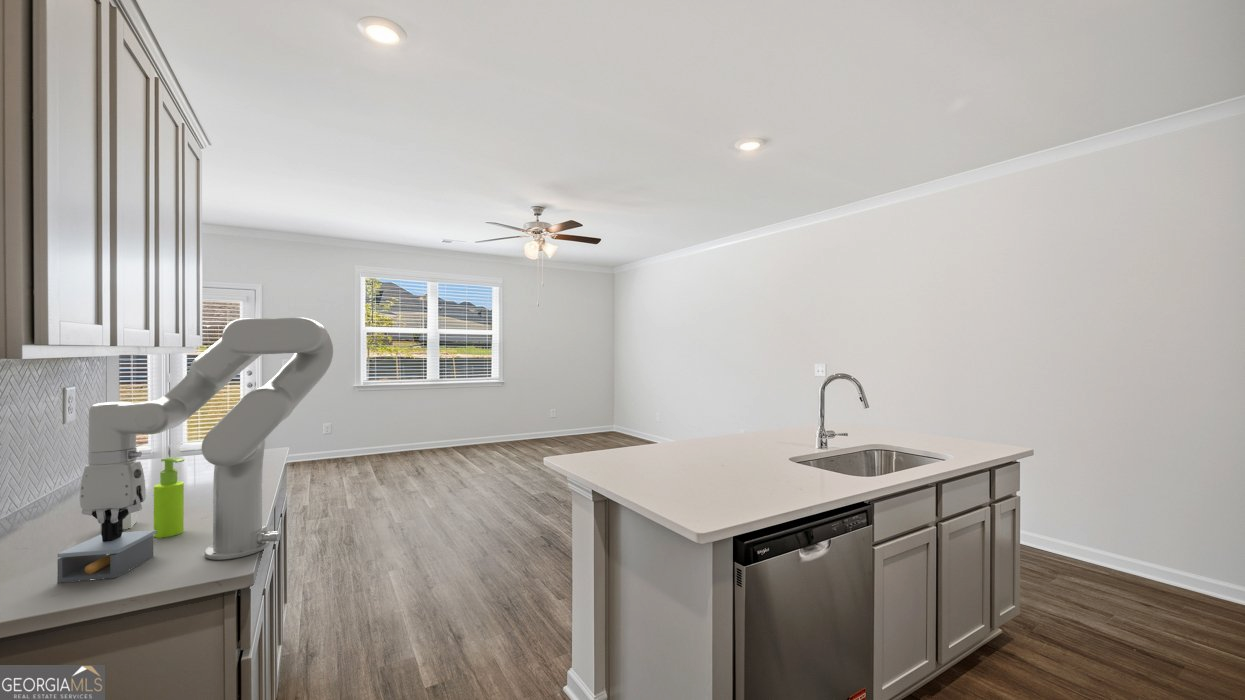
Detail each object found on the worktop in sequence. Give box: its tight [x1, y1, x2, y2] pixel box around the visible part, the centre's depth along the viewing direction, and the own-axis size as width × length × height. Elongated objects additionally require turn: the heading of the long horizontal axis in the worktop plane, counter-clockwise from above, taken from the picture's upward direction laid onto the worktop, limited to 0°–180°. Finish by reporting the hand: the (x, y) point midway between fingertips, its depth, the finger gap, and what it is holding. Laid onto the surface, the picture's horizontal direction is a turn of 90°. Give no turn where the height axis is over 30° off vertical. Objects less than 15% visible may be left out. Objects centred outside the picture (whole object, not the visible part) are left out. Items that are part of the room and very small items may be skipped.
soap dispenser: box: [153, 457, 185, 539], centre depth 134 cm, size 6×7×20 cm
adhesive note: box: [99, 507, 138, 534], centre depth 139 cm, size 6×6×6 cm
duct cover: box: [57, 529, 156, 559], centre depth 113 cm, size 11×12×1 cm
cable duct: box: [56, 535, 154, 584], centre depth 113 cm, size 10×12×5 cm
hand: (112, 539), depth 114 cm, fingers closed
